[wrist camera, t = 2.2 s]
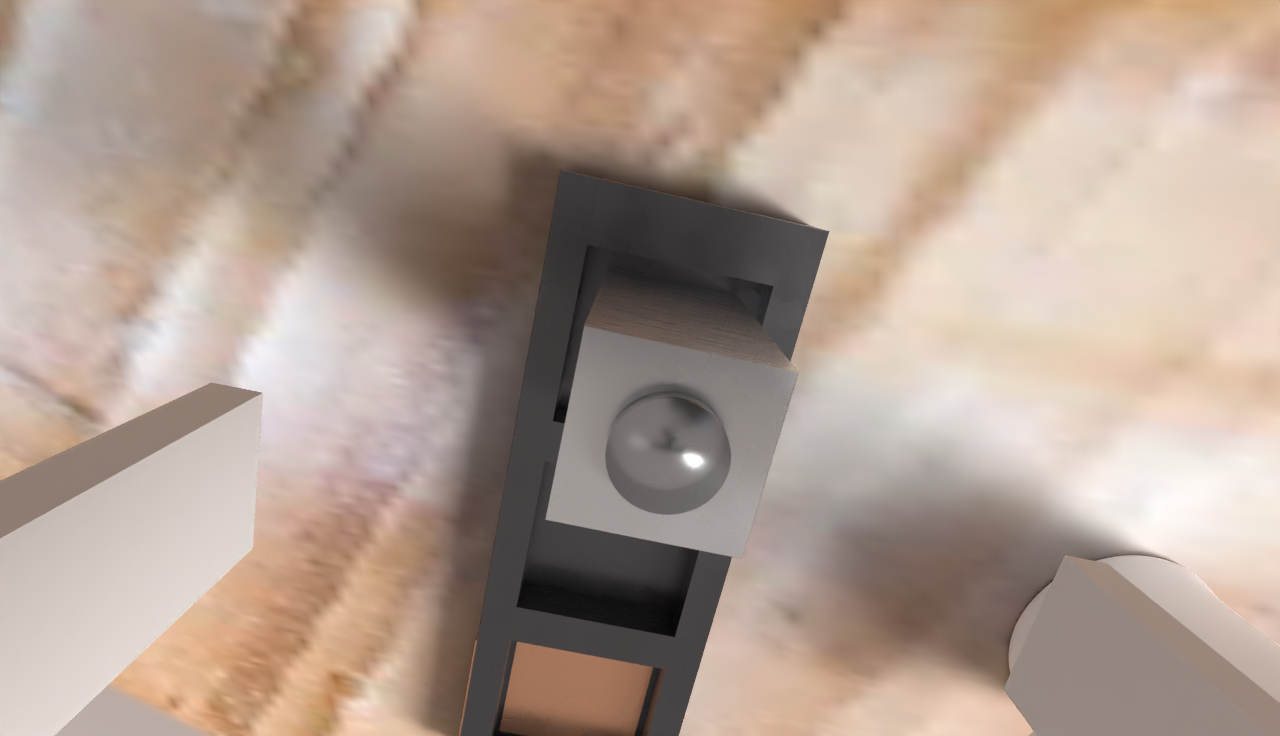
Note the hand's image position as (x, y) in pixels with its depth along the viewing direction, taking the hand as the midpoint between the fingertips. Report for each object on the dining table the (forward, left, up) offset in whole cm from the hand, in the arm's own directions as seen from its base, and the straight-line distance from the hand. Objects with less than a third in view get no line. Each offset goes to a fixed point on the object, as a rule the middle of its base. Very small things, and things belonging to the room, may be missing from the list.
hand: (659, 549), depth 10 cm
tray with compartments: (+7, 0, -14) cm, 15 cm away
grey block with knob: (0, 0, -13) cm, 13 cm away
